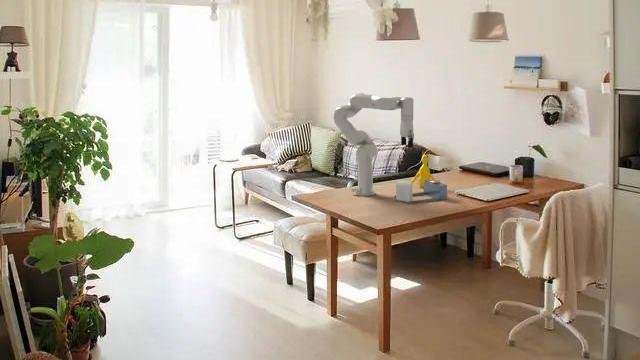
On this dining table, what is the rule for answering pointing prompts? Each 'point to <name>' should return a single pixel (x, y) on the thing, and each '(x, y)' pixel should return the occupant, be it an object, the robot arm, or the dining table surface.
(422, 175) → the figure statuette
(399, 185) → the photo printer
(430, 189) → the motor mount
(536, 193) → the dining table surface
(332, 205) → the dining table surface
